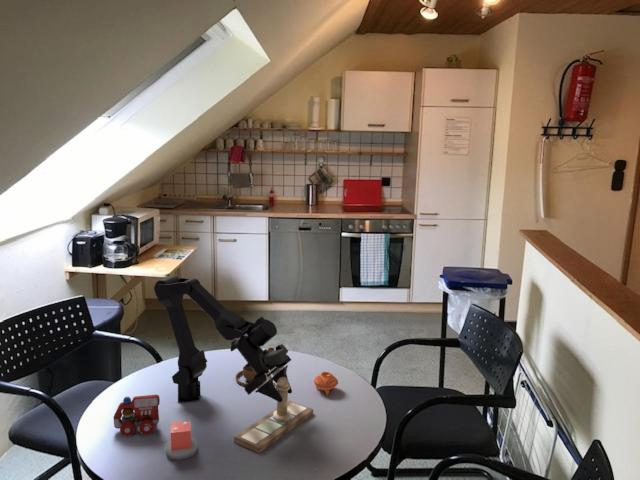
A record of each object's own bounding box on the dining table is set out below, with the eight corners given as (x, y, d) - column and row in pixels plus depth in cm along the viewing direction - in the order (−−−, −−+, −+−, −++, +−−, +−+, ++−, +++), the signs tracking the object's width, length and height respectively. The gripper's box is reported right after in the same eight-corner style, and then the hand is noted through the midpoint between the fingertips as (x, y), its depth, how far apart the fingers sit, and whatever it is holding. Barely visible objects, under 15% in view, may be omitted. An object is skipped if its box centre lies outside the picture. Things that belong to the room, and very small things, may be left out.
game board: (259, 453, 144) (259, 447, 144) (233, 441, 149) (233, 436, 149) (313, 413, 164) (313, 408, 164) (289, 404, 169) (289, 399, 169)
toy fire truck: (117, 424, 156) (115, 391, 154) (161, 421, 158) (160, 388, 156) (112, 438, 149) (110, 403, 147) (159, 434, 152) (158, 400, 150)
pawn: (278, 423, 155) (279, 383, 153) (270, 415, 160) (271, 375, 157) (293, 418, 158) (295, 379, 156) (284, 411, 162) (286, 372, 160)
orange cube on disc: (165, 461, 140) (164, 435, 138) (166, 443, 147) (165, 418, 146) (197, 457, 142) (196, 431, 140) (196, 440, 149) (195, 415, 148)
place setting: (224, 376, 189) (224, 360, 187) (271, 361, 201) (271, 346, 200) (252, 395, 176) (252, 378, 174) (300, 378, 189) (301, 362, 187)
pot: (310, 394, 176) (311, 373, 176) (317, 389, 183) (318, 369, 183) (334, 397, 173) (335, 376, 174) (340, 392, 181) (341, 371, 181)
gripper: (253, 351, 147) (289, 397, 145) (286, 328, 164) (318, 370, 162) (229, 372, 152) (263, 417, 150) (263, 348, 169) (294, 388, 167)
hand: (286, 397), depth 157 cm, fingers open, 5 cm apart
